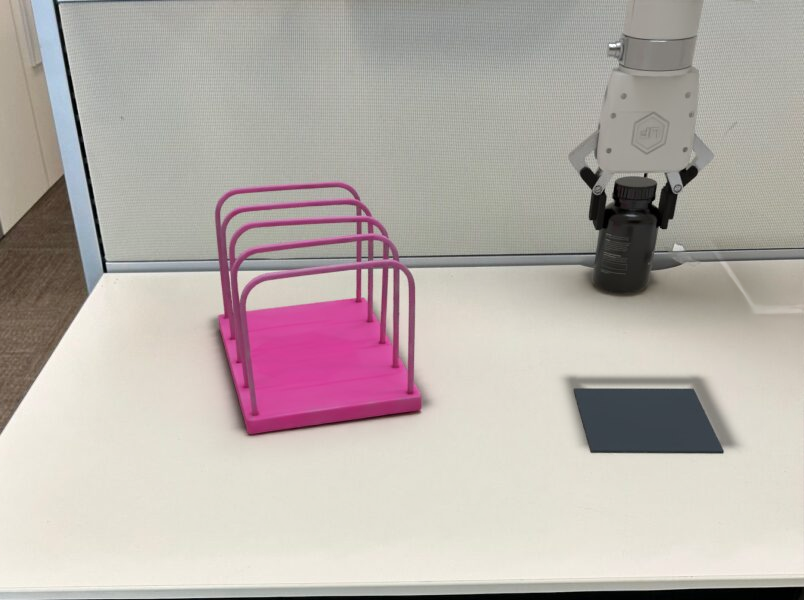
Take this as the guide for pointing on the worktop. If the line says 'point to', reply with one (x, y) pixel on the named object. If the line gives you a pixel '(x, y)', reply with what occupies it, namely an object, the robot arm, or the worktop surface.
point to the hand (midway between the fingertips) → (629, 224)
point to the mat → (645, 420)
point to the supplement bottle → (627, 237)
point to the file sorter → (314, 329)
